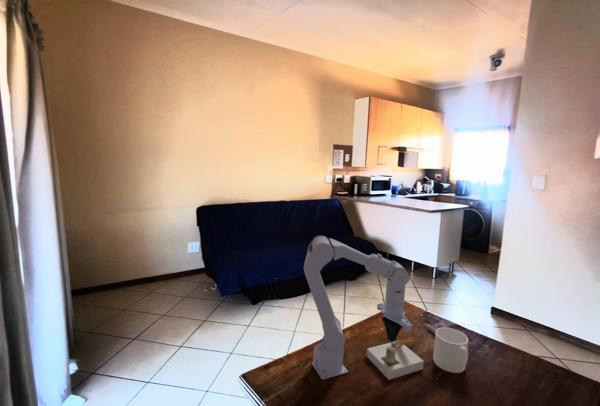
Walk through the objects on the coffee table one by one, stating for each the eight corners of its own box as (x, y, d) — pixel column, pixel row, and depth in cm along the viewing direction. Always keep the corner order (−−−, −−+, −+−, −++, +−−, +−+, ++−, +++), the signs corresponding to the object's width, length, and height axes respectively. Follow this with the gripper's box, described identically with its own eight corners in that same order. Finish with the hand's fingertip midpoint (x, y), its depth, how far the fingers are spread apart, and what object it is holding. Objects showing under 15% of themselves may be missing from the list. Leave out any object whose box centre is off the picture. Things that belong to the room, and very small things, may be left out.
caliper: (458, 356, 106) (460, 339, 105) (455, 356, 106) (457, 340, 105) (425, 325, 126) (426, 311, 125) (422, 325, 126) (424, 311, 125)
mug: (427, 354, 106) (429, 328, 105) (452, 353, 107) (455, 326, 106) (449, 380, 94) (452, 350, 92) (477, 378, 95) (481, 348, 94)
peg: (396, 370, 97) (397, 351, 96) (388, 372, 96) (390, 353, 95) (390, 364, 100) (391, 345, 99) (383, 366, 99) (384, 347, 98)
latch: (409, 342, 99) (407, 338, 100) (395, 345, 105) (394, 341, 106) (413, 340, 100) (412, 337, 100) (400, 344, 106) (398, 340, 107)
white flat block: (388, 379, 93) (389, 367, 93) (366, 356, 104) (367, 345, 104) (422, 369, 98) (423, 357, 98) (398, 347, 109) (399, 337, 109)
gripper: (421, 309, 90) (417, 350, 92) (390, 289, 103) (387, 326, 105) (402, 313, 87) (399, 355, 89) (373, 292, 100) (370, 329, 102)
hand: (391, 339), depth 97 cm, fingers closed
